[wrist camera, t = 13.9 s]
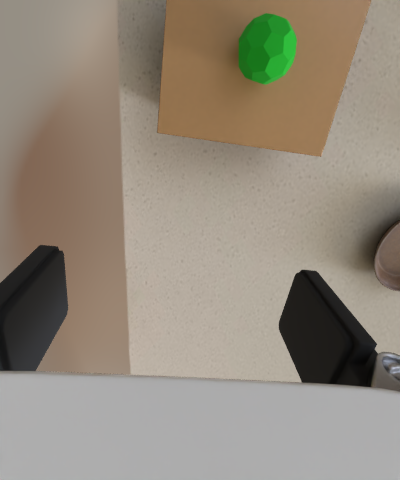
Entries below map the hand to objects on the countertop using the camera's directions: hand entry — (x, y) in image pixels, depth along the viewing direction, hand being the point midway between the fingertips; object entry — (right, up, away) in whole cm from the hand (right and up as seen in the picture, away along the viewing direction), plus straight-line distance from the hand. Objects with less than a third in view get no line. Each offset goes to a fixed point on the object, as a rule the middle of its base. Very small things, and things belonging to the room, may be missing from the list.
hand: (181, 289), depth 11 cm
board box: (+6, +22, +21) cm, 31 cm away
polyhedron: (+6, +19, +15) cm, 25 cm away
